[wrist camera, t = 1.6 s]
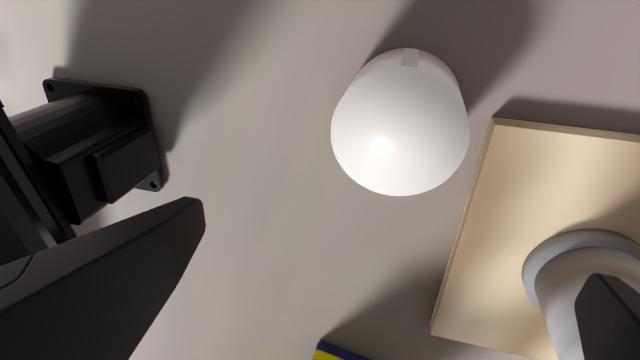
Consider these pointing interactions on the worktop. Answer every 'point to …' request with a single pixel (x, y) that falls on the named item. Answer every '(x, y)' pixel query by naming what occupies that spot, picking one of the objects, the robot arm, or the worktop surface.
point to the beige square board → (540, 236)
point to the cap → (401, 124)
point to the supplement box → (332, 353)
